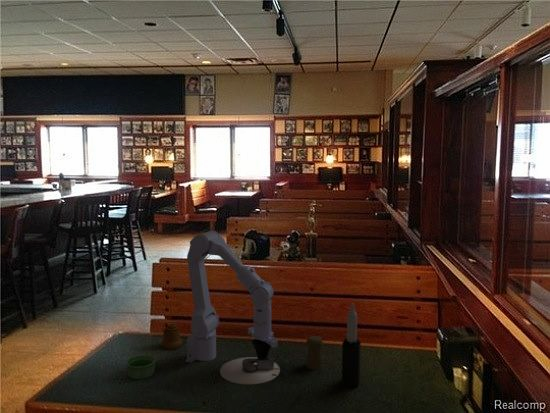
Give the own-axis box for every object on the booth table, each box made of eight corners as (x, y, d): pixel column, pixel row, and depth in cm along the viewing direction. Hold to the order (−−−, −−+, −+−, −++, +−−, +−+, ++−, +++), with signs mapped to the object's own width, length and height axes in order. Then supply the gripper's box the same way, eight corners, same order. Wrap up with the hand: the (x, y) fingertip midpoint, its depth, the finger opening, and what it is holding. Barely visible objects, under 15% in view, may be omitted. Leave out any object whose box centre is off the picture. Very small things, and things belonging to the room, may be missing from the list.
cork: (322, 375, 146) (323, 341, 145) (303, 373, 147) (304, 340, 146) (324, 367, 151) (324, 334, 150) (306, 365, 153) (306, 333, 152)
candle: (360, 380, 143) (362, 301, 140) (357, 387, 138) (359, 306, 135) (344, 377, 144) (345, 299, 142) (341, 384, 139) (342, 304, 137)
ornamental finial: (174, 340, 173) (186, 346, 168) (157, 346, 168) (168, 352, 163) (174, 320, 173) (186, 325, 168) (156, 325, 167) (168, 330, 162)
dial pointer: (242, 372, 143) (242, 363, 143) (241, 365, 148) (241, 356, 148) (274, 371, 144) (274, 362, 144) (272, 364, 149) (272, 355, 149)
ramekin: (161, 373, 147) (161, 360, 146) (135, 383, 140) (135, 369, 140) (146, 365, 153) (145, 352, 152) (121, 374, 146) (120, 360, 146)
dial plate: (208, 380, 142) (208, 375, 141) (238, 357, 159) (238, 352, 159) (263, 394, 134) (263, 388, 133) (289, 368, 151) (289, 363, 151)
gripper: (285, 325, 144) (285, 366, 146) (260, 312, 156) (260, 351, 158) (267, 329, 140) (266, 372, 142) (242, 316, 152) (242, 355, 154)
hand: (262, 361), depth 149 cm, fingers closed
